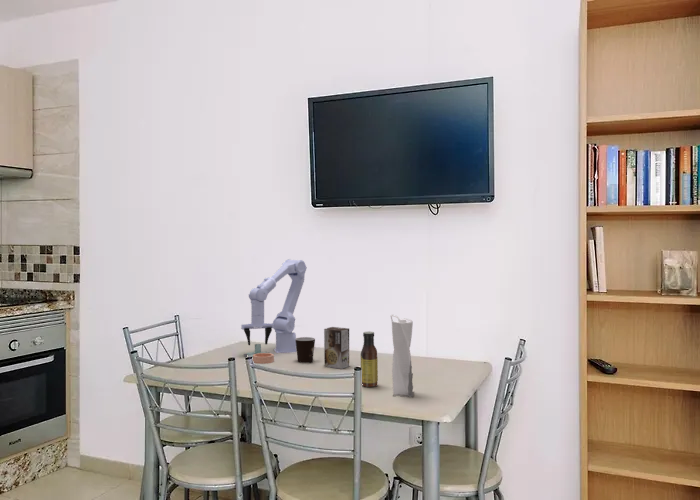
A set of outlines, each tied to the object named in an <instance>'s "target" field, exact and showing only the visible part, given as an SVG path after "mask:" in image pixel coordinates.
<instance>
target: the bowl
mask: <svg viewBox="0 0 700 500" xmlns="http://www.w3.org/2000/svg"><path fill="white" fill-rule="evenodd" d="M253 361H254V363H253V364H257V365H258V364H261V365H264V364H271V363H273V362H275V355H274V353H271V352H269V353H268V352H267V353H257V354H254V355H253V359H252V362H253Z"/></svg>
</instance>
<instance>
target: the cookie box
mask: <svg viewBox="0 0 700 500" xmlns="http://www.w3.org/2000/svg"><path fill="white" fill-rule="evenodd" d="M323 334H324V335H323V339H324V340H323V341H324V342H323V343H324V344H323V345H324V346H323V348H324V349H323V350H324V351H323V352H324V355H323V356H324V359H323V360H324V361H323V362H324V367H327V368H335V369H340V370H342V369H345V368H349V367H350V328H346V327H339V326H331V327H326V328H324V329H323Z"/></svg>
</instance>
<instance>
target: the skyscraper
mask: <svg viewBox="0 0 700 500" xmlns="http://www.w3.org/2000/svg"><path fill="white" fill-rule="evenodd" d="M393 317H395V318H397V320H394V321H393ZM390 319H391V331H392V332H391V335H392V345H393V353H392V364H391V365H392V367H391V368H392V370H391V372H392V373H391V374H392V376H391V377H392V379H391V380H392V393H393V394H392V397H396V396H400V397H401V398H414V395H415V391H414V385H413V376H414V373H412V369H413V367H412V355H411V350H410V348H411V343H412V335H413V320H412V319H409V318H400V317H399V316H397V315H394V314H391V315H390Z"/></svg>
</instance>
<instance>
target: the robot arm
mask: <svg viewBox="0 0 700 500" xmlns="http://www.w3.org/2000/svg"><path fill="white" fill-rule="evenodd" d="M306 271H307V265H306V262H305V261H304V260H303V259H291V258H289V259H286V260H285V261H284V262H283V263H282V264H281V266H280V268H279V269H277V270H276V272H275V273H273V275H272V276H271V277H265V278H264V279H263V281H262V282H261V283H260V284H257V285H256V287H254V288H252V289H251V290H250V292H249V294H248V298H249V300H250V305H251V310H250V311H251V318H250V319H251V320H250V321H251V322H250V323H246V324H241V325H240V326H241V327H240V329H241V330H243V332H244V334H245V336H246V341H247V345H248V346H251V330H256V329H264V335H265V336H264V344H265V345H268V341H269V338H270V336H271V333H272V331H273V330H274V332H275V348H274V349H273V350H274V352H275V354H284V353H285V354H286V353H297V349H296V340H295V339H296V338H297V336H296V335H297V334H296V332H293V331H294V330H295V327H296V325H295V322H296V317H295V316H294V312H295V309H296V307H297V303H298V300H299V297H300V294H301V291H302V289H303V286H304V283H305V274H306ZM287 275H288V277H289V278H290V279H291V283H290V286H289V289H288V291H287V295H286V297H285V301H284V304H283V307H282V309H281V311H280V312H279V313H277V315H276V317H275V318H274V319H273V321H272V323H265V301H266V300H267V299H268V295H269V294H270V293H271V292H272V290H274V289H275V288H276V286H277V283H278V282H279V281H280V280H282V279H283V278H284V277H285V276H287Z"/></svg>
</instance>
